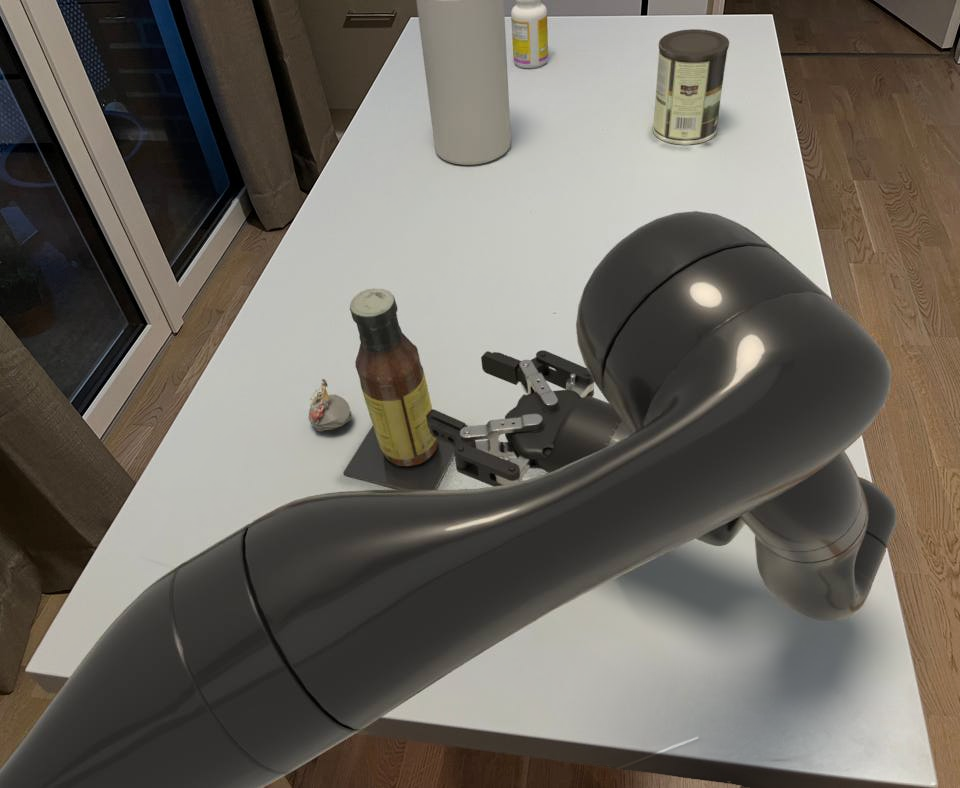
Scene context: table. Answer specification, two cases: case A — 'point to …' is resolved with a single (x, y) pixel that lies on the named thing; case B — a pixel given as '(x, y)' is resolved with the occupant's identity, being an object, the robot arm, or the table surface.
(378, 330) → the sauce bottle
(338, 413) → the figurine
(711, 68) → the coffee can
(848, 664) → the table surface
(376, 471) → the slate coaster
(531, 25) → the supplement bottle
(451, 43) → the cylinder vase
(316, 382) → the table surface
